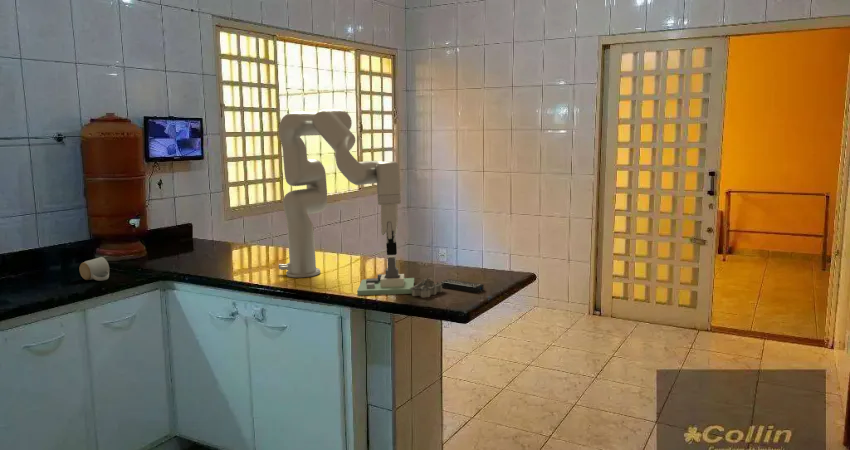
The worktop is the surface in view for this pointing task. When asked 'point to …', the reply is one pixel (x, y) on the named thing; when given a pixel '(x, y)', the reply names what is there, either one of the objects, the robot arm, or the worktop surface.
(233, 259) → the worktop surface
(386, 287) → the board
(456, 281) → the multiport hub
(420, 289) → the egg carton
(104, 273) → the ceramic mug
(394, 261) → the plug
